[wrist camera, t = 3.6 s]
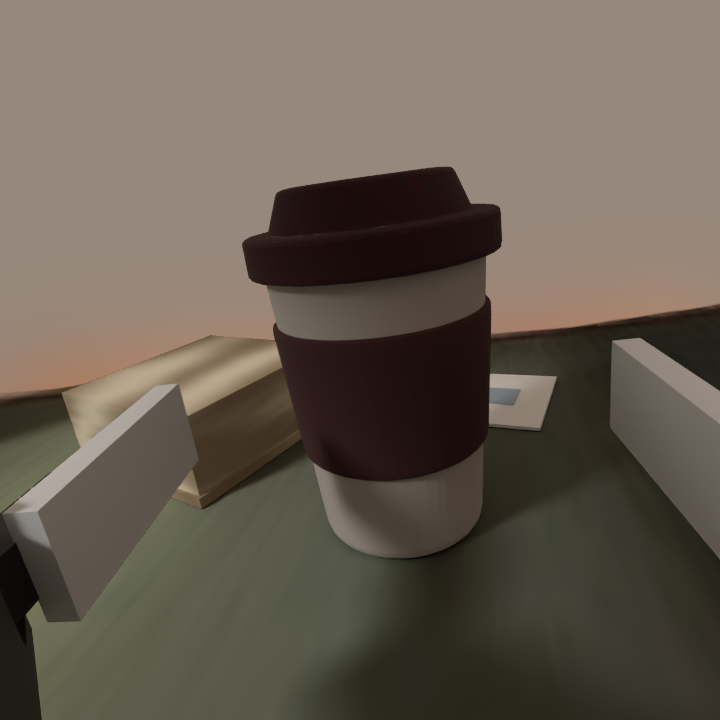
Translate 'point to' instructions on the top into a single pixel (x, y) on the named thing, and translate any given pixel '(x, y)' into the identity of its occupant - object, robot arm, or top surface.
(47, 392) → the top surface
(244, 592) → the top surface
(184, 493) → the tan flat block
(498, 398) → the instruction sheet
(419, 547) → the coffee cup
